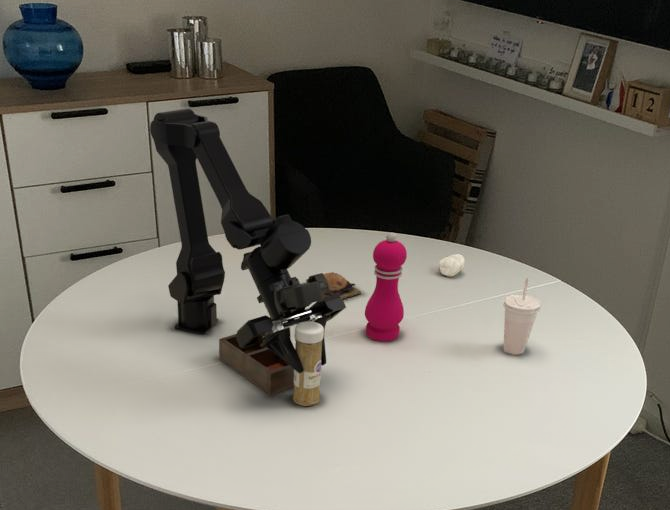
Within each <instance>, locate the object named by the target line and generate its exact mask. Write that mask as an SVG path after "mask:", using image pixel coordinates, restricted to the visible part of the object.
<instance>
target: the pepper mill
mask: <svg viewBox="0 0 670 510" xmlns="http://www.w3.org/2000/svg"><path fill="white" fill-rule="evenodd" d="M385 237H386V239H385V240H382V241H379V243H377V244H376V245H375V247H374V248H373V251H372V259H373V262H374V263H375V266H374V272H373V274H374V275H375V277H376V283H375V287H374V290H373V292H372V294H371V295H370V297H369V299H368V300H367V303H366V305H365V309H364V310H365V311H364V318H365V320H366V321H367V323H366V325H365V335H366V336H367V337H368V338H369V339H371V340H374V341H377V342H392V341H394V340H396V339H398V338H399V336H400V329H401V327H400V325H399V324H401V322H402V321H403V319H404V317H405V310H404V304H403V301H402V298H401V296H400V293H399V280H400V278H401V277H402V276H403V267H402V266H404V264H405V263H406V261H407V257H408V256H407V255H408V253H407V249H406V246H405V245H404V244H403V243H402V242H401V241H398V240H397V234H396V233H394V232H389V233H387V235H386V236H385Z"/></svg>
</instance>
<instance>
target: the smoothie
mask: <svg viewBox="0 0 670 510" xmlns="http://www.w3.org/2000/svg"><path fill="white" fill-rule="evenodd" d="M529 280H530V277H528V276H526V277H525V280H524V286H523V291H522V294H512V295H508V296H506V297H504V300H503V305H502V306H503V307H504V321H503V322H504V323H503V324H504V325H503V351H504V352H505V353H507V354H508V355H514V356H519V355H523V354H524V353H525V350H526V348H527V344H528V341H529V339H530V335H531V332H532V329H533V327H534V324H535V321H536V318H537V315H538V313H539V312H540V311H541V306H542V303H541V301H540V300H539V299H538V298H535V297H533V296H531V295H527V292H528V286H529Z"/></svg>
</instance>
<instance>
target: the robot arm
mask: <svg viewBox="0 0 670 510" xmlns="http://www.w3.org/2000/svg"><path fill="white" fill-rule="evenodd" d="M149 131H150V135H151V138H152V140H153V143H154V147H155V150H156V153H157V154H158V155H159V156H160V157H161V159H162V160H163V161H164V162H165V164H166V165H167V169H168V173H169V174H168V175H169V178H170V184H171V190H172V191H171V192H172V196H173V202H174V203H173V204H174V209H175V213H176V214H175V215H176V220H177V226H178V232H179V236H180V238H179V239H180V243H181V248H180V250H179V254H178V257H177V259H176V261H175V265H176V266H175V269H176V276H174V277H173V279H172V280H171V281H170V282H169V284H168V286H167V287H168V291H169V292H168V293H169V296H170V298H172V299H174V301H176V303H177V321H178V322H177V323H176V324H174V329H175V330H180V331H184V332H185V331H186V332H190V333H194V334H195V333H196V334H200V335H205V334H207V333H208V332H209V331H210V330H211V329H212V328H213V327H215V326H214V325H216V324H217V323H218V322H219V318H218V317H217V314H218V313H217V303H216V302H215V296H217V295H218V296H219V295H221V294H222V290H223V287H224V283H225V279H226V278H225V276H226V270H225V268H224V264H223V263H224V262H223V254H222V253H221V252H220V251H216V250H215V248H214V247H213V246H212V245H211V244H210V242H209V236H208V230H207V223H206V218H205V211H204V205H203V200H202V192H201V186H200V180H199V175H198V168H197V161H198V163H199V165H200V167H201V169H202V171H203V173H204V175H205V177H206V179H207V181H208V183H209V185H210V187H211V189H212V191H213V193H214V195H215V197H216V199H217V200H218V202H219V206H220V208H221V217H220V224H221V227H222V230H223V232H224V236H225V239H226V241H227V242H228V244H229V245H230V246H231V247H232V248H233V249H236V250H239V251H241V250H246V249H249V248H253V247H255V248H254V249H253V250H252V251H249V252H244V253H243V258H242V261H241V263H240V270H241V271H245V270H246V271H247V270H248V272H249V273H250V276H251V278H252V280H253V282H254V284H255V287H256V289H257V291H258V294H259V295H258V296H256V300H257V302H258V304H262V303H263V304H264V307H265V309H266V311H267V313H268V315H262V316H259V317H255V318H252V319H249V320H247V321H246V322H245V323H244V324H243V325H242V326H241V327H240V328H238V330H237V331H236V333H235V334H236V339H237V342H238V344H239V346H240V348H245V347H248V346H251V345H254V344H256V343H257V340H258V336H261V337H262V339H263V342H262V343H261V344H260V346H261V347H267V348H268V349H270V350H271V351H272V352H274V353H275V354H277V355H278V356H279V357H281V358H282V359H283V360H284V361H285V362H286V363H288V364H289V365H290V366H291V367H292V368H293V369H295V370H296V371H297V372H298V373H302V372H303V371H304V369H303V366H302V363H301V361H300V359H299V357H298V354H297V352H296V350H295V346H294V344H293V341H292V339H291V327H293V326H296V325H297V324H299V323H301V322H316V323H319V324H321V325H322V326H323V328H324V331H325V330H326V329H325V328H326V325H327V322H329V321H331V320H332V319H334V318H335V317H336V316H338V315H339V314H340V313H341V312H343V311H344V310H345V309H347V306H346V303H345V301H344V298H343V299H342V298H341V297H340V296H338V295H336V294H335V295H332V296H328V297H325V298H324V297H323V296H322V294H324V293H327V292H328V291H329V286H328V282H327V280H326V278H325V277H324V275H323V274H324V273H323V272H322V273H321V272H320V273H316V274H312V275H309V276H308V278H309V282H304V283H301V282H300V281H299V278H297V276H293V277H292V276H291V274H290V272H289V270H288V269H290V268H291V267H292V266H293V265H295V263H296V262H297V261H299V260H300V258H302V257H303V255H305V254H306V253H307V252H308V251H309V250H310V247H311V246H312V237H311V234H310V232H309V230H308V229H307V228H305V226H303V225H302V224H301V223H299V222H298V221H295V220H292V217H291V216H290V214H284V215H279V216H277V217H276V218H274V217H273V216H272V215H271V214H270V212H269V210H268V209H267V207H266V206H265V205H264V203H263V202H262V201H261V200H260V199H259V198H257V197H255V196H254V195H252V193H250V192H249V190H248V189H247V187H246V185H245V184H244V182H243V179H242V178H241V176H240V174H239V172H238V170H237V167H236V166H235V163H234V162H233V160H232V158H231V156H230V154H229V152H228V150H227V148H226V146H225V144H224V143H223V140H222V138H221V132H220V128H219V126H218V124H217V123H216V122H215V121H211V120H209V119H208V116H206V115H205V116H204V115H201V114H197V113H195V112H194V110H193V109H192V108H181V109H176V110H166V111H161V112H157V113H156V114H155V115H154V117H153V120H152V121H151V122H150V126H149ZM256 246H257V247H256ZM307 307H308V308H307ZM326 353H327V352H326V341H325V335H324V336H323V340H322V352H321V367H322V366H325V365H326V364H327V354H326Z"/></svg>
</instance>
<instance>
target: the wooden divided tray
mask: <svg viewBox="0 0 670 510" xmlns="http://www.w3.org/2000/svg"><path fill="white" fill-rule="evenodd" d="M236 334H237V333H234V334H231V335H227V336H224V337H222V338H218V356H219V357H218V360H219V361H221V362H222V363H223V364H225V365H227V366H228V367H229V368H230V369H232V370H234V371H235V372H236V373H238V374H239V375H240V376H242V377H243V378H245V379H246V380H248V381H249V382H250V383H252V384H253V385H255V386H256V387H258V388H259V389H260V390H261V391H263V392H265V394H267V395H268V396H272V395H275V394H277V393H281V392H283V391H287V390H289V389H292V388H294V369H293V368H292V367H291V366H290V365H289V364H288V363H286V362H285V361H284V360H283V359H282V358H281V357H279V356H278V355H277V354H275V353H274V352H272V351H271V350H270V349H268V348H267V347H261V346H260V344H261V343H262V342H263V339H262V337H261V336H258V340H257V343H256V344H254V345H251V346H248V347H245V348H240V346H239V344H238V342H237V339H236Z"/></svg>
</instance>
